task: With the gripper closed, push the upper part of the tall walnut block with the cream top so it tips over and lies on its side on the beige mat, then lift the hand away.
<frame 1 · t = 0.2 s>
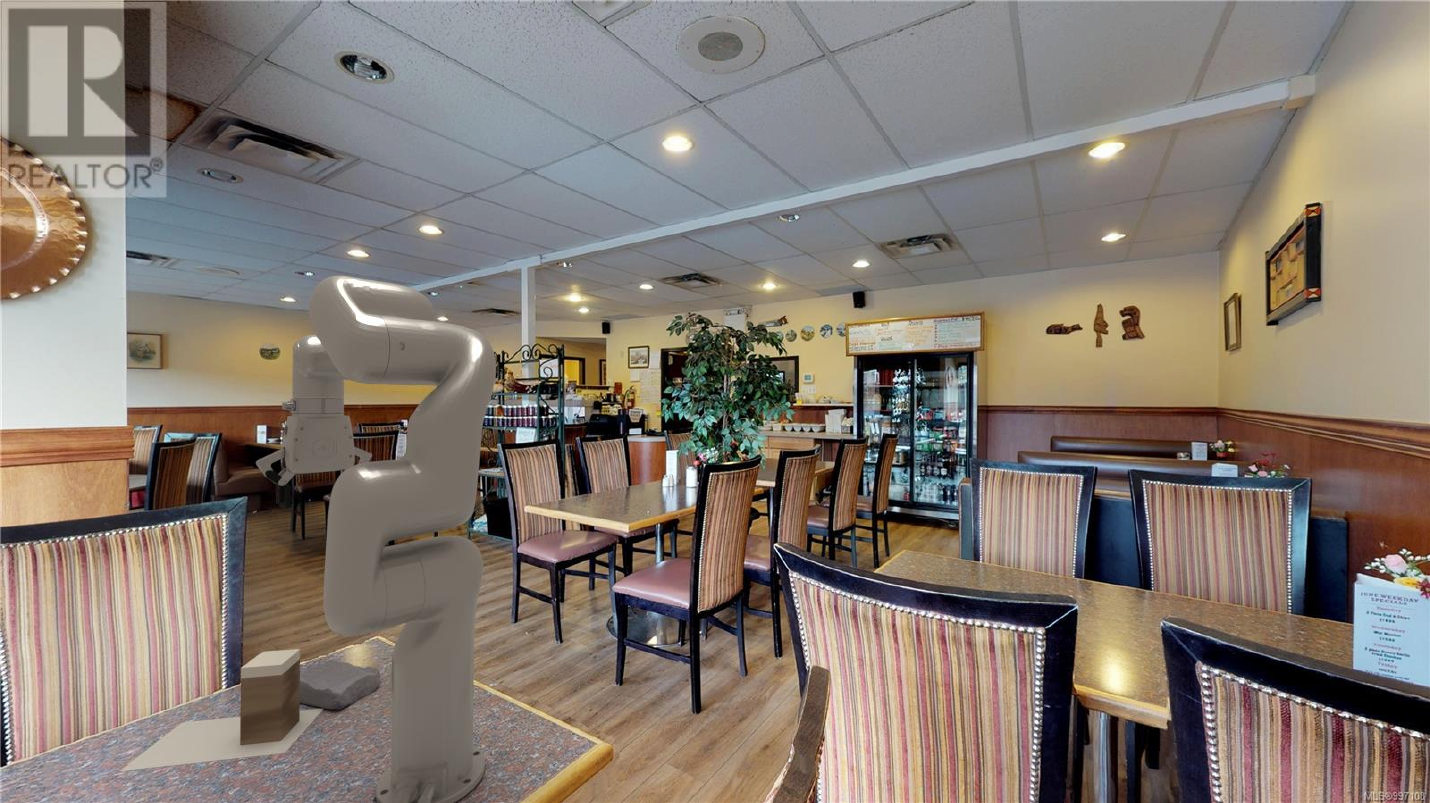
hand: (317, 503, 97), 31 cm above the table, tool pointing down, fingers open, 9 cm apart
walnut block: (270, 732, 79), resting on beige mat
stone block: (338, 693, 90), on the table, touching beige mat
beige mat: (231, 739, 78), on the table
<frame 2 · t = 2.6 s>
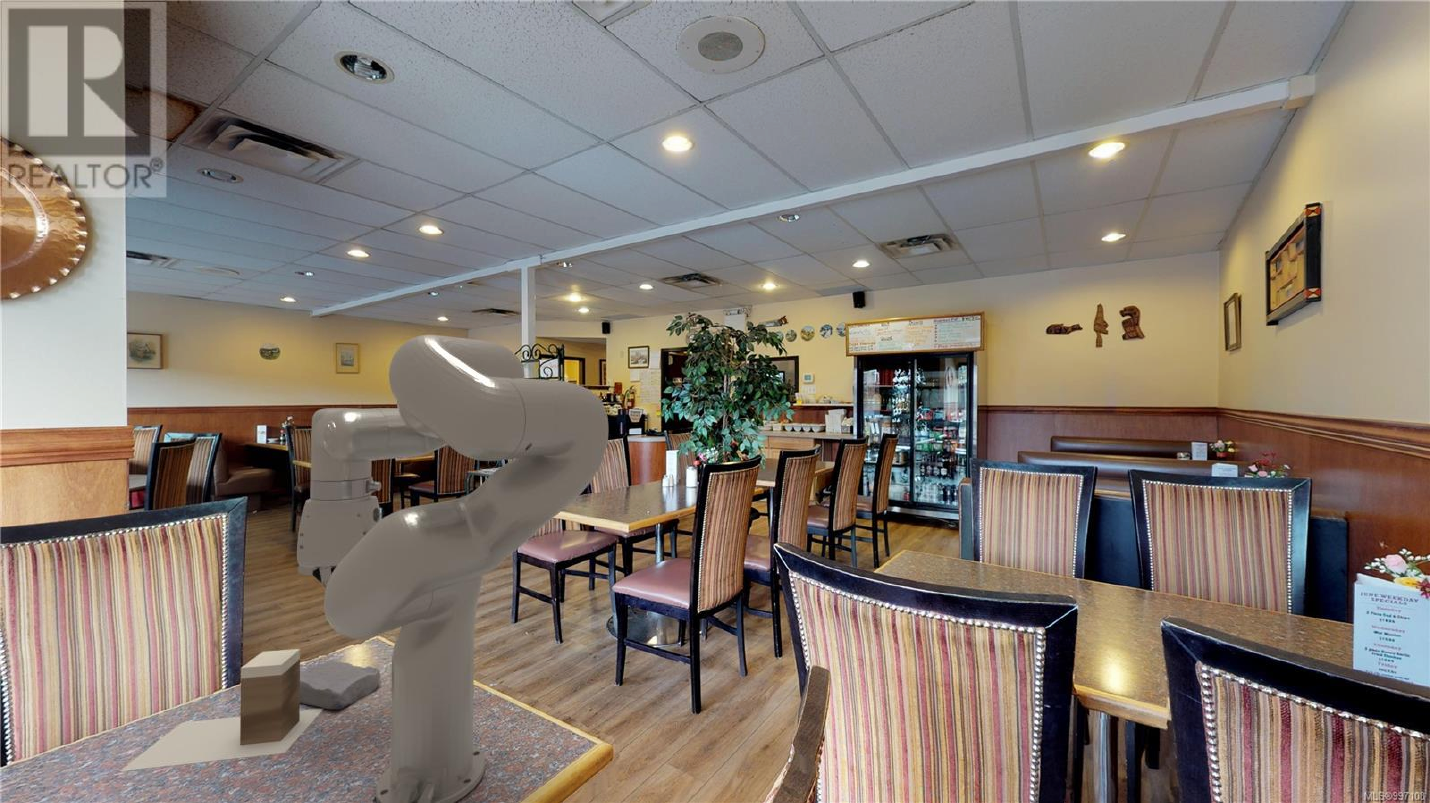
hand: (339, 610, 81), 18 cm above the table, tool pointing down, fingers closed
nothing on the table moved.
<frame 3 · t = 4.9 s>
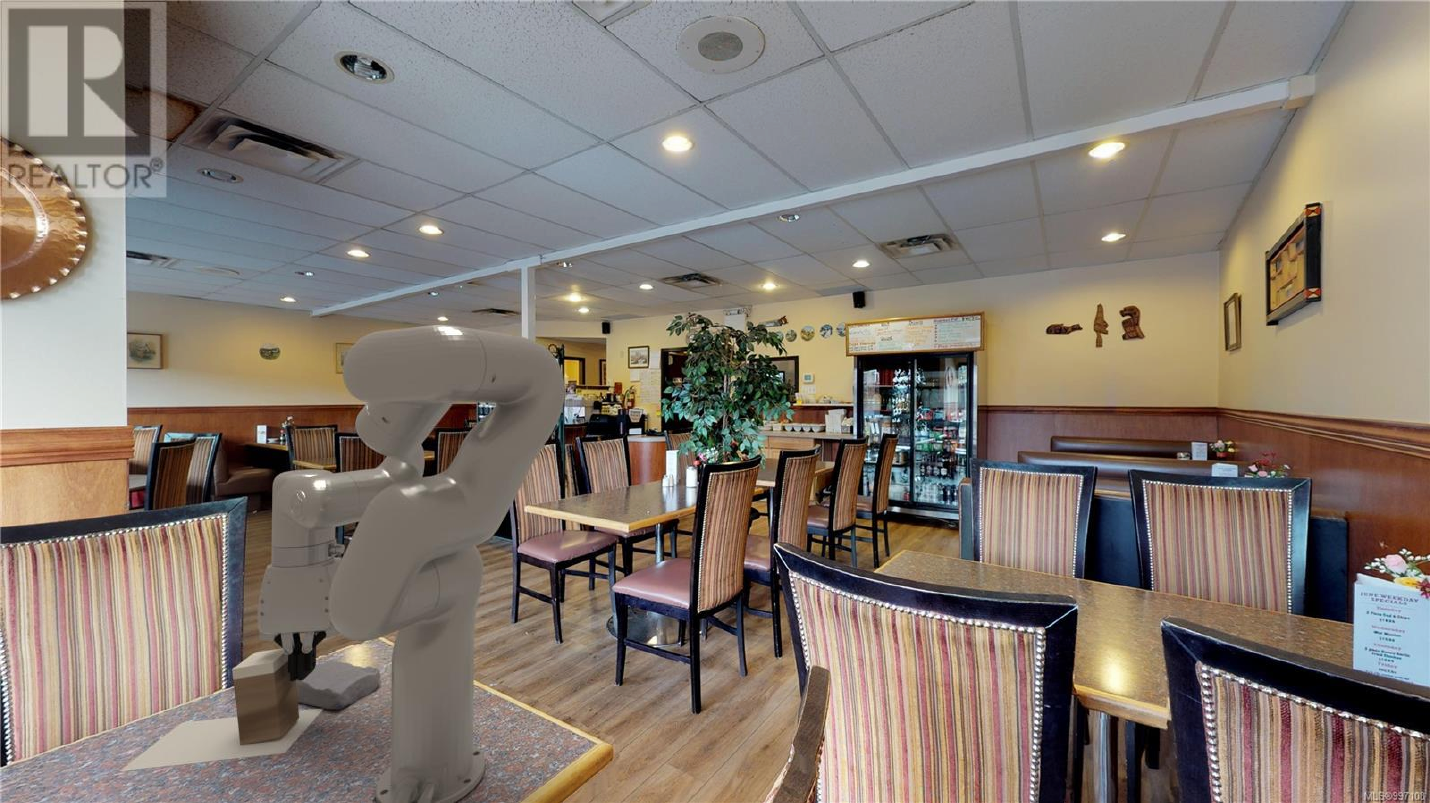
hand: (301, 675, 80), 8 cm above the table, tool pointing down, fingers closed
walnut block: (270, 730, 79), point 1 cm above the table, tilted 6°, touching beige mat, gripper
everything else where it was.
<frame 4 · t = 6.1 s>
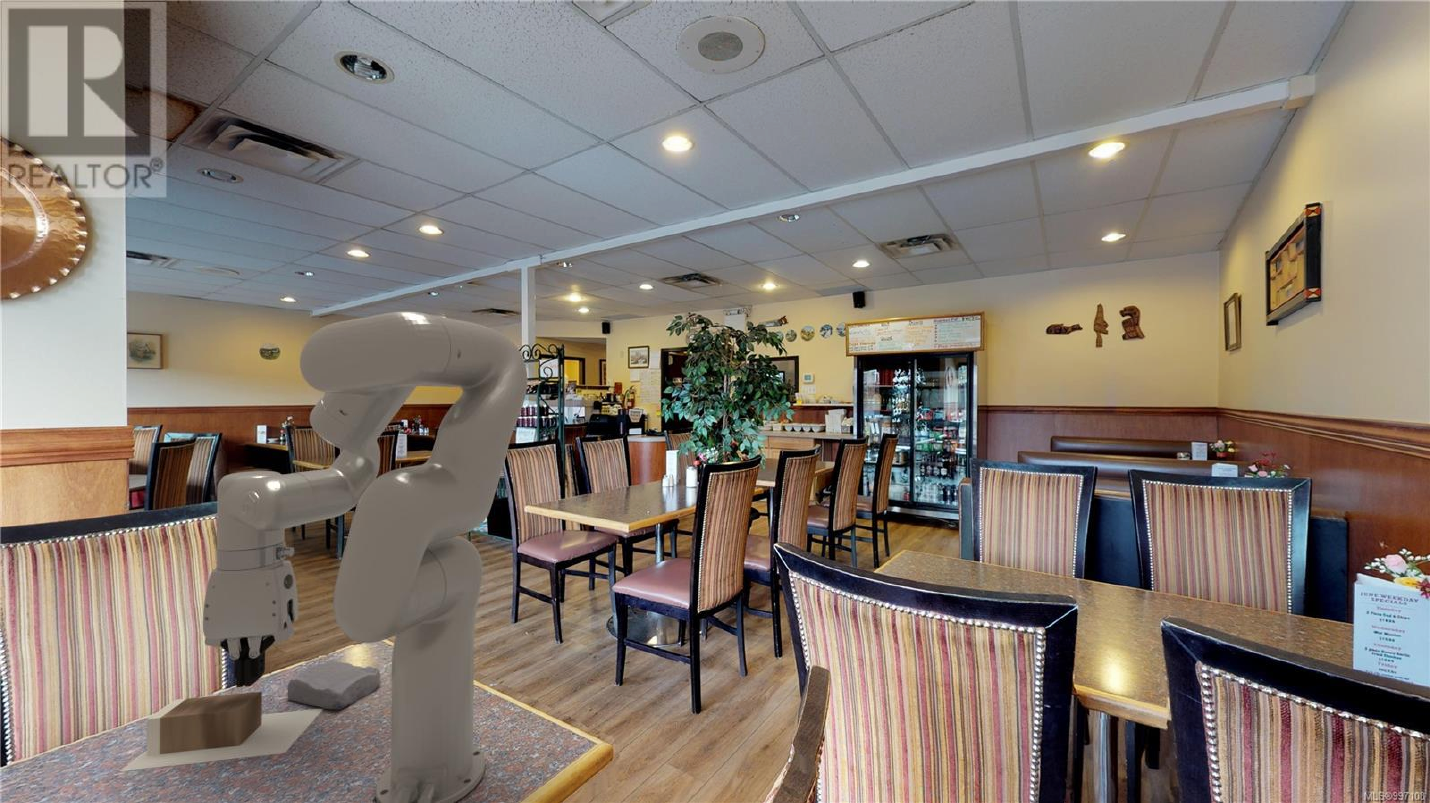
hand: (249, 681, 79), 8 cm above the table, tool pointing down, fingers closed
walnut block: (251, 717, 79), point 3 cm above the table, tilted 90°, touching beige mat
everything else where it was.
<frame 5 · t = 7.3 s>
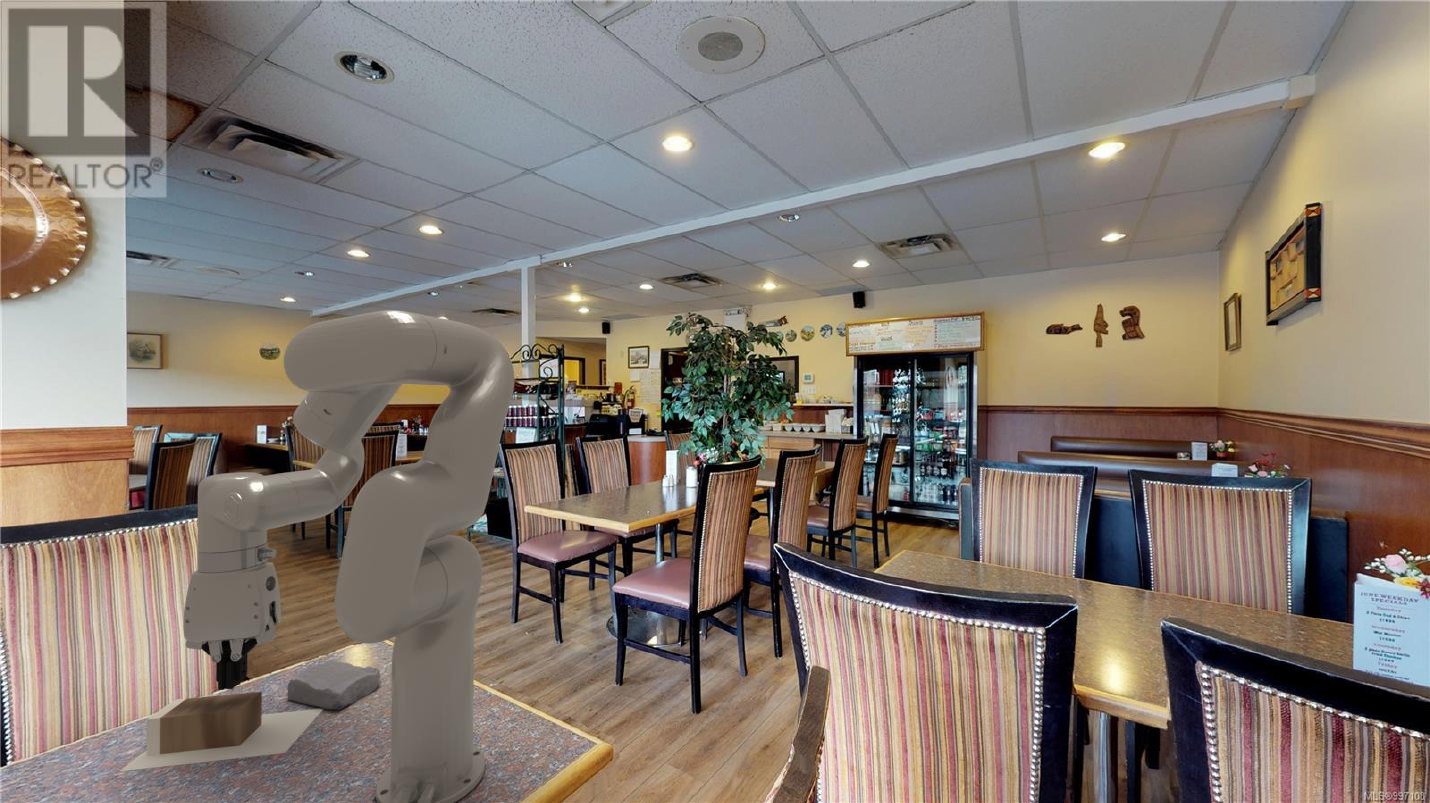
hand: (231, 684, 78), 8 cm above the table, tool pointing down, fingers closed
nothing on the table moved.
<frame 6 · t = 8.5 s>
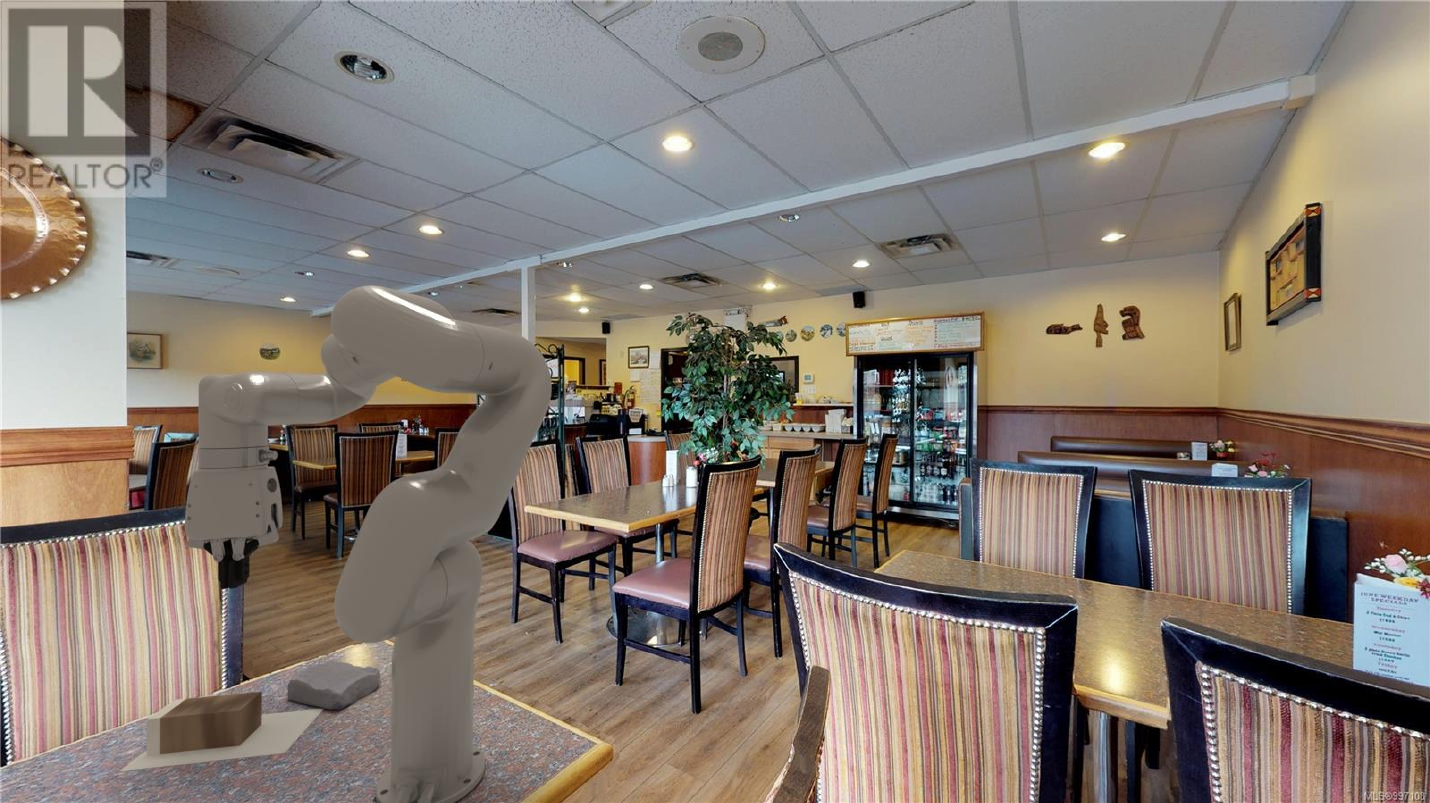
hand: (234, 585, 78), 22 cm above the table, tool pointing down, fingers closed
nothing on the table moved.
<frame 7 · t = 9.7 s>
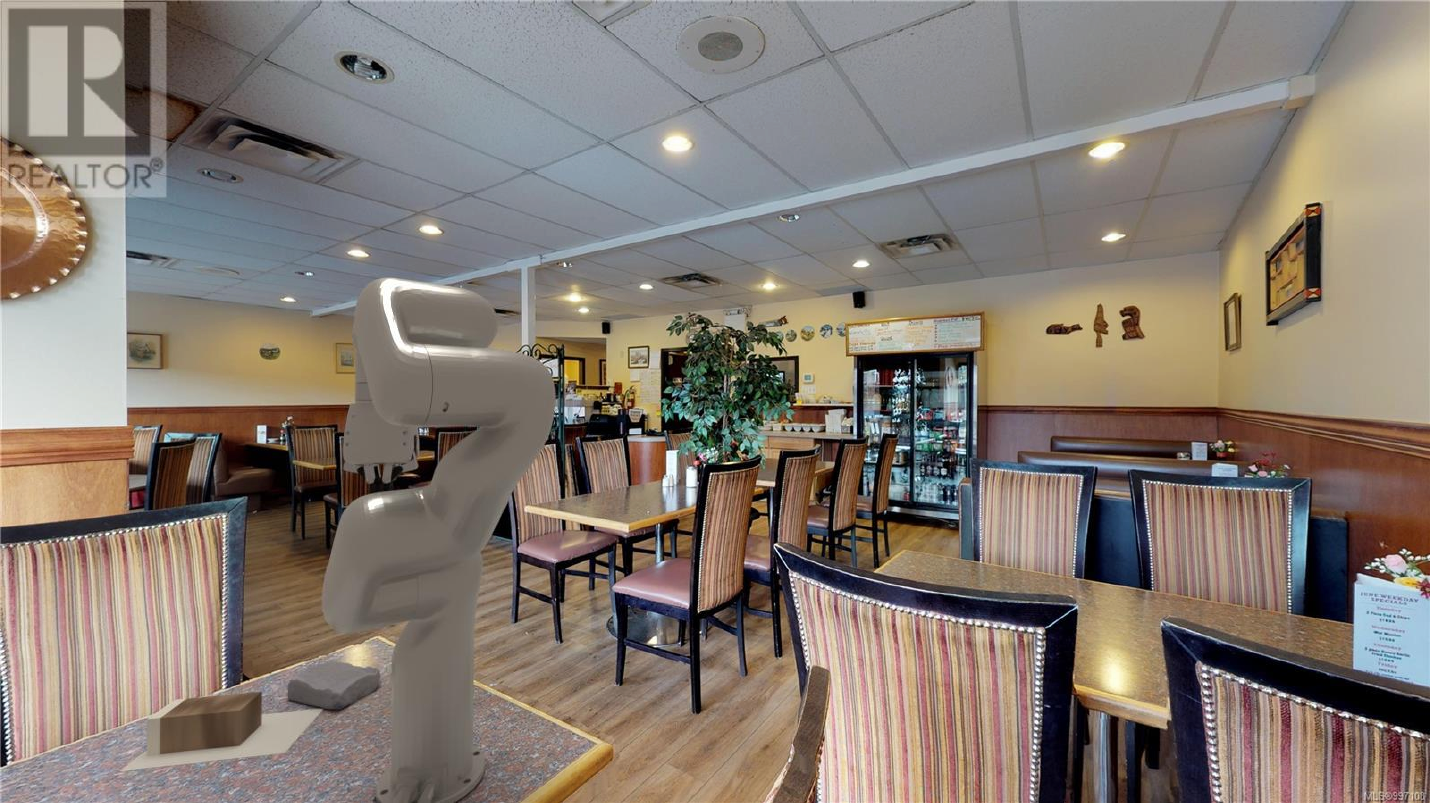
hand: (381, 506, 88), 32 cm above the table, tool pointing down, fingers closed
nothing on the table moved.
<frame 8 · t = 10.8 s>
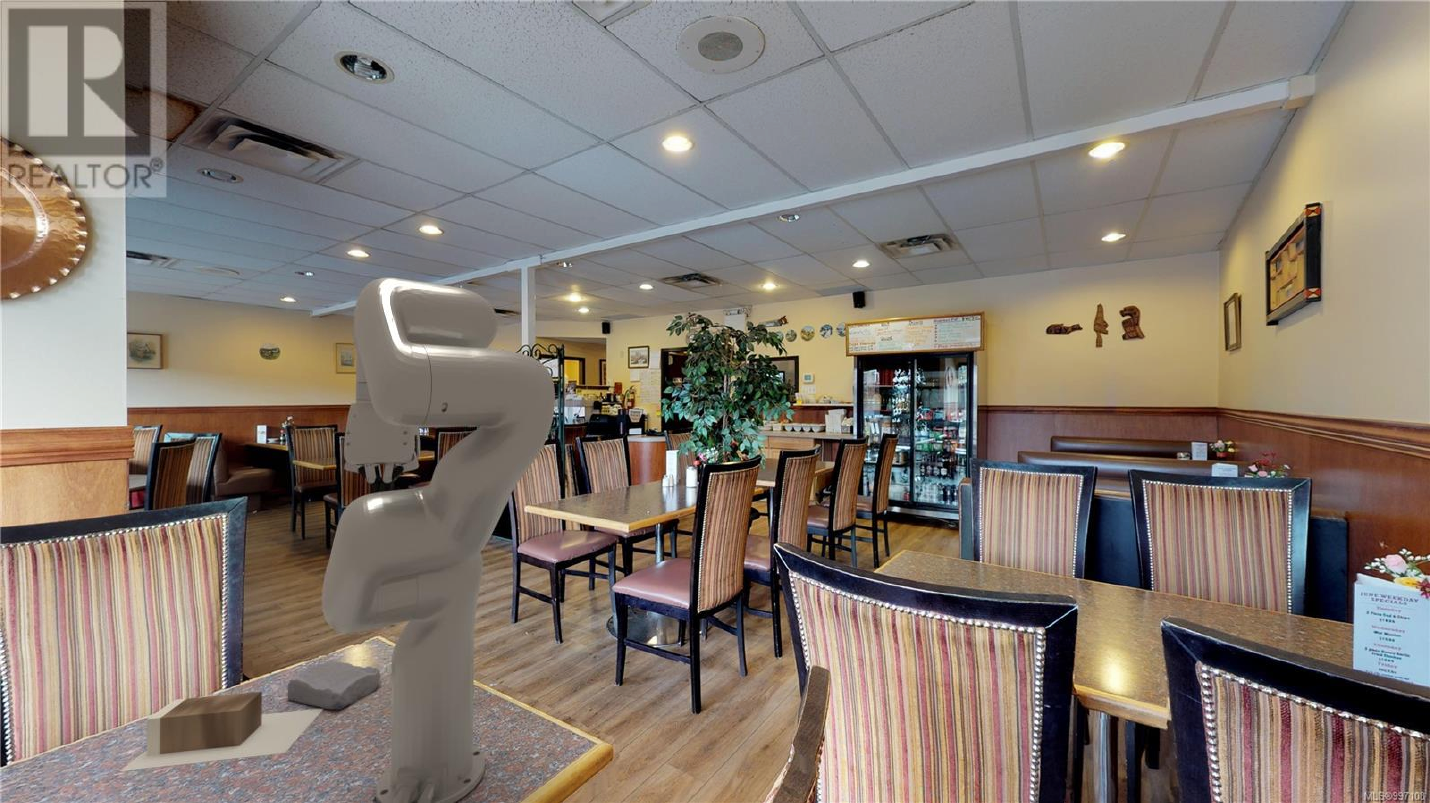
hand: (382, 505, 89), 32 cm above the table, tool pointing down, fingers closed
nothing on the table moved.
at the end: walnut block tilted 90°; walnut block inside the target area on the beige mat (3.5 cm from its centre), point 2.9 cm above the beige mat's base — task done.
